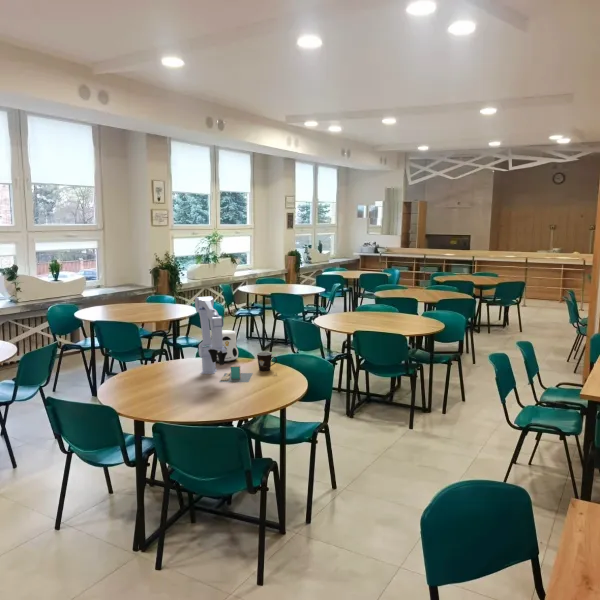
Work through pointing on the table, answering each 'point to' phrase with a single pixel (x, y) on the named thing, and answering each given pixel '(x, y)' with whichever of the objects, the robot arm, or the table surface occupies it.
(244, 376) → the mat
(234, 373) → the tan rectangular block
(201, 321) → the robot arm
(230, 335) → the milk container
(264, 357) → the coffee mug
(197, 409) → the table surface
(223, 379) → the turner
